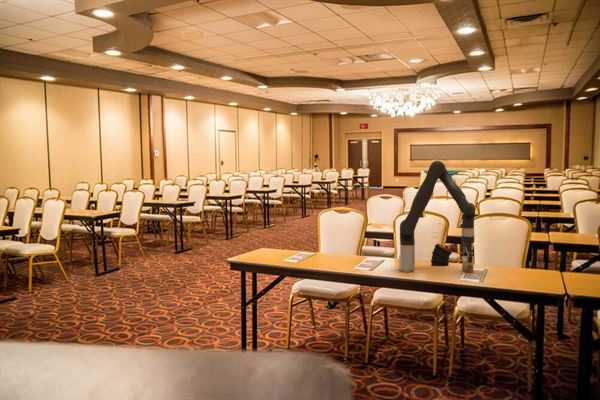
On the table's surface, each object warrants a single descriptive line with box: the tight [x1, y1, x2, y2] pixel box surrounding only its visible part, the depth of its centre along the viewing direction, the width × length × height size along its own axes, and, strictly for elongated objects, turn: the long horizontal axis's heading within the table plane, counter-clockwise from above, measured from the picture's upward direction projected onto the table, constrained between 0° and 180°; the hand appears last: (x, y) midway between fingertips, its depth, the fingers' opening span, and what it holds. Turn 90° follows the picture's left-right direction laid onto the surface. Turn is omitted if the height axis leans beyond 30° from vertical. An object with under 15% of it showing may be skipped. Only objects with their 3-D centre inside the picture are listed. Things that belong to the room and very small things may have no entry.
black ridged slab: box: [430, 243, 453, 267], centre depth 326 cm, size 4×13×15 cm, turn 54°
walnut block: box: [461, 264, 474, 274], centre depth 301 cm, size 5×5×5 cm
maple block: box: [461, 255, 475, 266], centre depth 301 cm, size 5×5×5 cm
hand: (467, 261), depth 301 cm, fingers open, 7 cm apart
